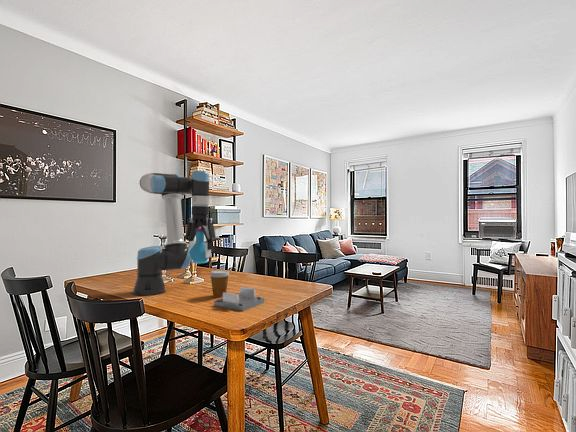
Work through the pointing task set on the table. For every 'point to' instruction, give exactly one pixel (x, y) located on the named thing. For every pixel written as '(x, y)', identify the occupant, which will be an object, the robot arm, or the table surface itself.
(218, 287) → the disposable coffee cup
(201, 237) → the perfume bottle
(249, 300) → the base
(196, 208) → the robot arm
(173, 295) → the table surface
